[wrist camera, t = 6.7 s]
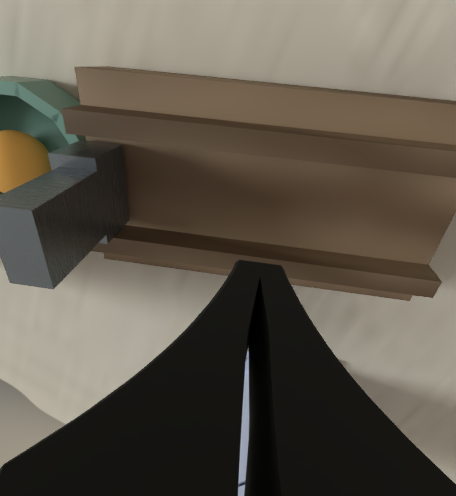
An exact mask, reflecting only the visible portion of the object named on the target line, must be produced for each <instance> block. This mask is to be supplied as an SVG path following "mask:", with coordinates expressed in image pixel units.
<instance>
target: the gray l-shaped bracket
mask: <svg viewBox="0 0 456 496" xmlns="http://www.w3.org/2000/svg"><path fill="white" fill-rule="evenodd" d="M48 157H49V161H50V166H51V171H49V172H47V173H45V174H43V175H41V176H39V177H37V178H34V179H32V180H30V181H28V182H26V183H24V184H22V185H20V186H18V187H16V188H14V189H12V190H9V191H7V192H5V193H3V194H1V195H0V257H1V259H2V262H3V265H4V268H5V270H6V273H7V276H8V278H9V281H10V283H14V284H21V285H28V286H35V287H42V288H48V289H54V288H55V287H56V286H57V285H58V284H59V283H60V282H61V281H62V280H63V279H64V278H65V277H66V276H67V275H68V274H69V273H70V272H71V271H72V270H73V269H74V268H75V267H76V266H77V265H78V263H79V262H80V261H81V260H82V259H83V258H84V257H85V256H86V255H87V254H88V253H89V252H90V251H91V250H92V249H93V248H94V247H95V246H96V245H97V244H98V243H103V244H108V243H109V242H110V241H111V240H112V239H113V238H114V237H115V236H116V234H117V233H118V232H119V231H120V230H121V229H122V228H123V227H124V226H125V225H126V224H127V222H128V221H129V209H128V199H127V189H126V179H125V168H124V158H123V148H122V144H115V143H106V142H97V141H89V140H80V141H77V142H74V143H72V144H69V145H67V146H64V147H62V148H59V149H57V150H54V151H52V152H49V153H48Z"/></svg>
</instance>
